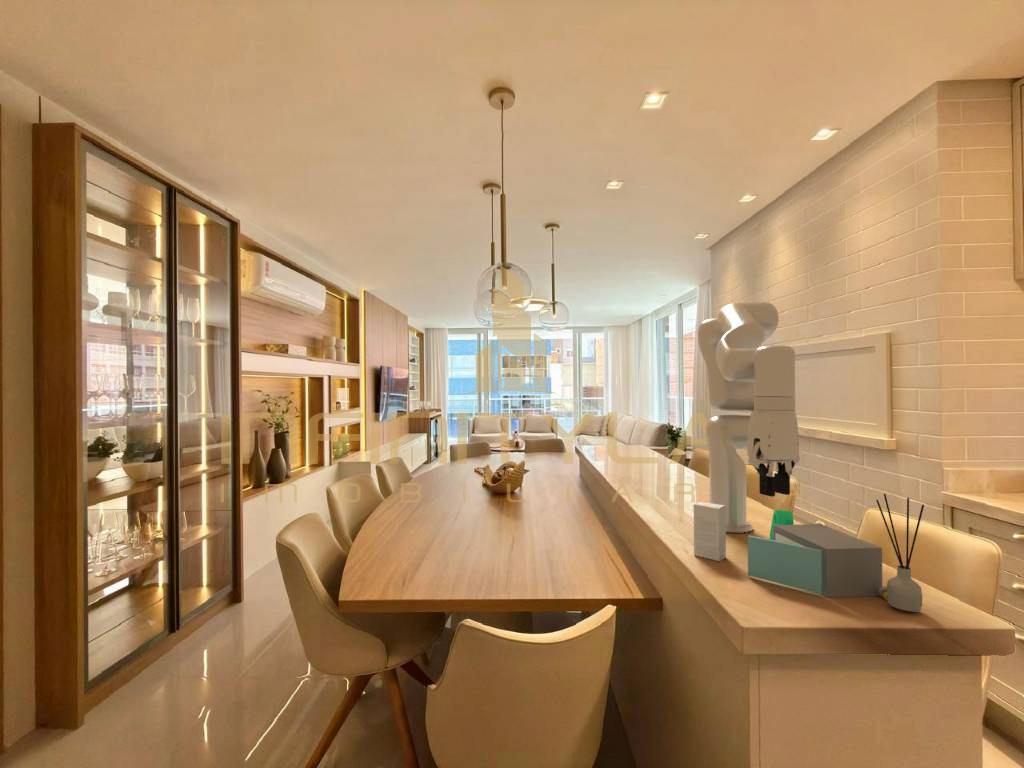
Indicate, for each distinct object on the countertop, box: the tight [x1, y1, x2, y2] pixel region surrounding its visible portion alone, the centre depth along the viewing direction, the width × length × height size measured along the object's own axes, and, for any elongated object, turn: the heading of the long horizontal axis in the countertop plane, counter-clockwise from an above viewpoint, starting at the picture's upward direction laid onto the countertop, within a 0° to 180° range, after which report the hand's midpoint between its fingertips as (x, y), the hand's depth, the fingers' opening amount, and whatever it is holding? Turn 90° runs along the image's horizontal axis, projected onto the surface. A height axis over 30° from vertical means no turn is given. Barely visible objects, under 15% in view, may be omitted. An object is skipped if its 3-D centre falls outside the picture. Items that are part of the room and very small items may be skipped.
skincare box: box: [693, 501, 727, 562], centre depth 111 cm, size 6×4×12 cm
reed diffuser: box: [876, 493, 925, 613], centre depth 85 cm, size 10×7×20 cm
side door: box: [747, 534, 822, 595], centre depth 94 cm, size 13×1×8 cm, turn 45°
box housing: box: [773, 523, 883, 598], centre depth 98 cm, size 16×11×9 cm
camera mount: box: [769, 509, 795, 540], centre depth 113 cm, size 12×8×10 cm, turn 164°
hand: (774, 493), depth 99 cm, fingers open, 3 cm apart
